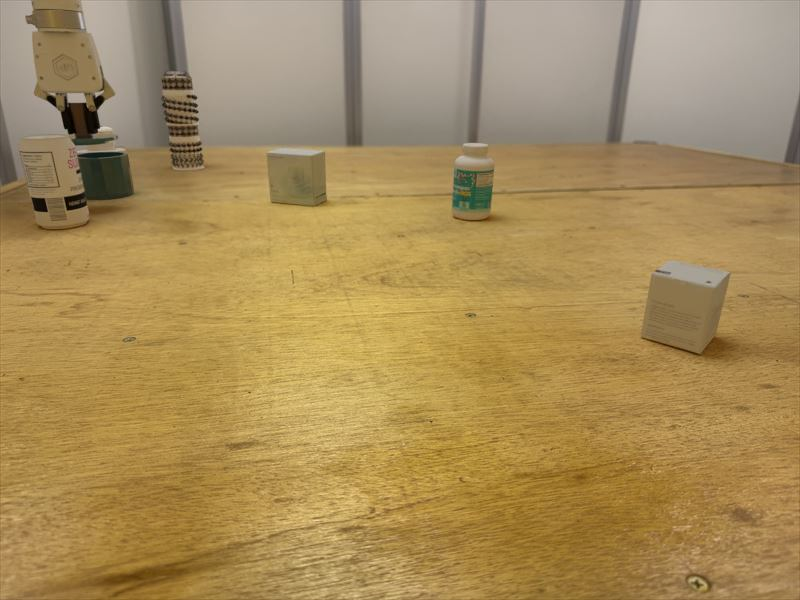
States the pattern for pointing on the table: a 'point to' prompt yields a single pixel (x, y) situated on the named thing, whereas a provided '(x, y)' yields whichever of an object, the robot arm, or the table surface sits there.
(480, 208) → the pill bottle
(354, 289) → the table surface
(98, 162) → the storage jar
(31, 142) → the supplement can
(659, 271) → the white cardboard box
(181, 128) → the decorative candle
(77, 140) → the jar lid
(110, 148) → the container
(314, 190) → the cosmetics box
